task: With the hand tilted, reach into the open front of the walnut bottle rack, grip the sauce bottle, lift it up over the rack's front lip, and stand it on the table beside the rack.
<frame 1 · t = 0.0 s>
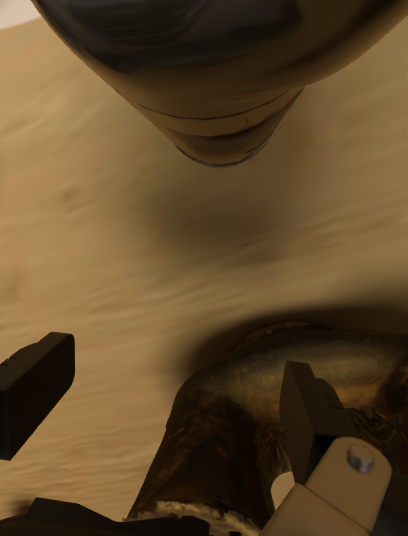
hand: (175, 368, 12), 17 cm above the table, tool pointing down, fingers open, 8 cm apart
pottery vessel: (289, 362, 30), on the table
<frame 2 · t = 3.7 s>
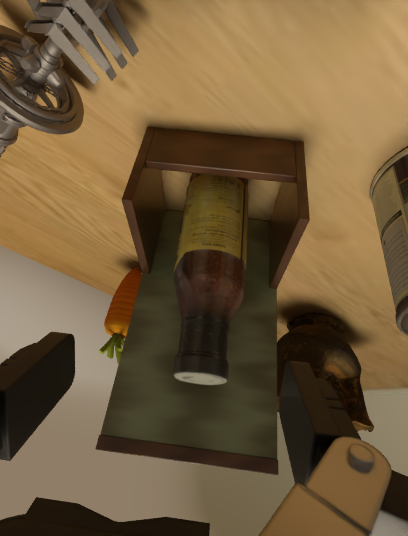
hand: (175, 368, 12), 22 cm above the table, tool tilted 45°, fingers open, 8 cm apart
bottle rack: (220, 183, 32), on the table
carrot: (137, 266, 50), on the table
pottery vessel: (316, 324, 60), on the table
sauce bottle: (220, 182, 33), resting in bottle rack
spaceship: (52, 54, 24), on the table
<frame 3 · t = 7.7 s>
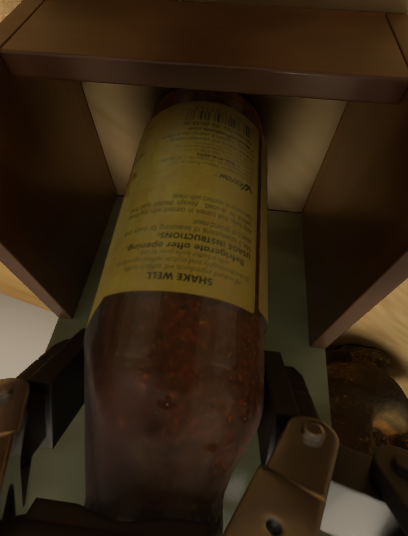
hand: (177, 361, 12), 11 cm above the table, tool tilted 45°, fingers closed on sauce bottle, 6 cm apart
bottle rack: (209, 138, 16), on the table
pottery vessel: (352, 356, 44), on the table
sauce bottle: (210, 136, 17), resting in bottle rack, touching gripper
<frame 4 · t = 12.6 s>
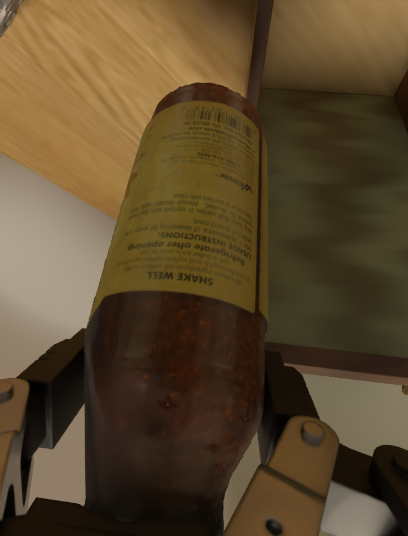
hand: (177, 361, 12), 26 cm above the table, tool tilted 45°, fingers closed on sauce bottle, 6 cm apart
bottle rack: (344, 26, 24), on the table
sauce bottle: (210, 136, 17), point 15 cm above the table, touching gripper
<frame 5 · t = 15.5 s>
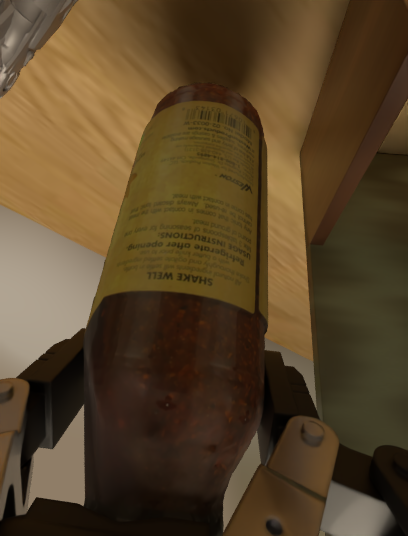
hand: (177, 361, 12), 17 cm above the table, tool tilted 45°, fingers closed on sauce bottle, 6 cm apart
sauce bottle: (210, 136, 17), point 6 cm above the table, touching gripper
when the fingers open (11 cm above the table, at t = 17.7 s): sauce bottle stays where it is, on the table.
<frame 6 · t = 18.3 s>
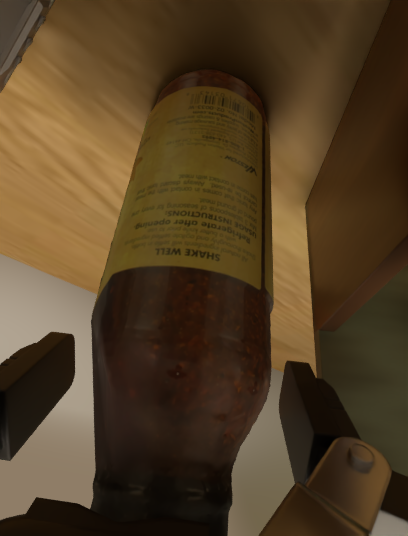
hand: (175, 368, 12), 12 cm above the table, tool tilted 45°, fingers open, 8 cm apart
sauce bottle: (213, 124, 17), on the table
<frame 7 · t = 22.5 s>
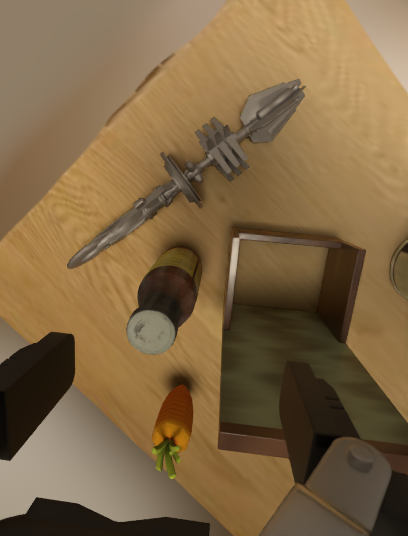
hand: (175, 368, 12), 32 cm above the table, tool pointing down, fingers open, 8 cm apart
bottle rack: (277, 274, 43), on the table
carrot: (182, 385, 48), on the table
sauce bottle: (181, 267, 44), on the table
spaceship: (185, 183, 41), on the table
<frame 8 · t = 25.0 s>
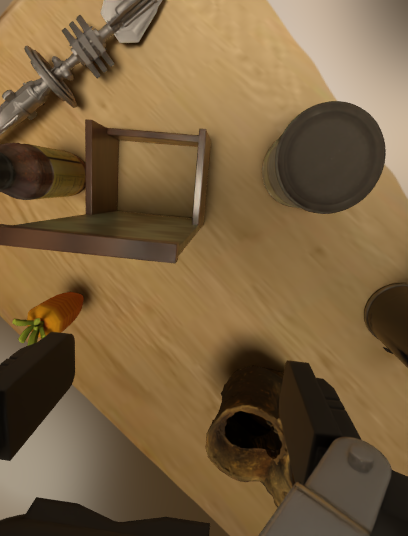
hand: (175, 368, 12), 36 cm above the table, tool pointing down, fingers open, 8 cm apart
bottle rack: (159, 180, 45), on the table
carrot: (81, 295, 51), on the table
coffee can: (297, 170, 44), on the table
pottery vessel: (272, 397, 52), on the table
sauce bottle: (71, 175, 46), on the table
spaceship: (67, 89, 44), on the table
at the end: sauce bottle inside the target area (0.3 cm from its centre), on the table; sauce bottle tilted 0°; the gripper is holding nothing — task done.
